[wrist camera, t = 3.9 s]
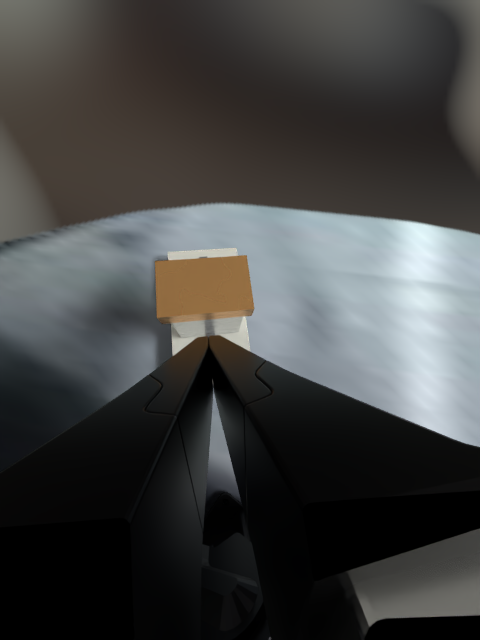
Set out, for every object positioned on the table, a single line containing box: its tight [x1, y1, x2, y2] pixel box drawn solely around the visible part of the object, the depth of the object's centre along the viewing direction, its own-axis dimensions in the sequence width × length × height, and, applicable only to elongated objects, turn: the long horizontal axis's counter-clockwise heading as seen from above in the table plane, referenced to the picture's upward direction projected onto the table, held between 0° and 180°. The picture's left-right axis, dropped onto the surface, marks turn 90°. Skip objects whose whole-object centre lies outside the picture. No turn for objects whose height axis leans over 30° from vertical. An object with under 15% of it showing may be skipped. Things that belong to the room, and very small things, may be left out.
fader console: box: [168, 248, 250, 356], centre depth 21 cm, size 12×6×2 cm, turn 7°
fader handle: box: [155, 255, 254, 338], centre depth 16 cm, size 3×5×7 cm, turn 97°
